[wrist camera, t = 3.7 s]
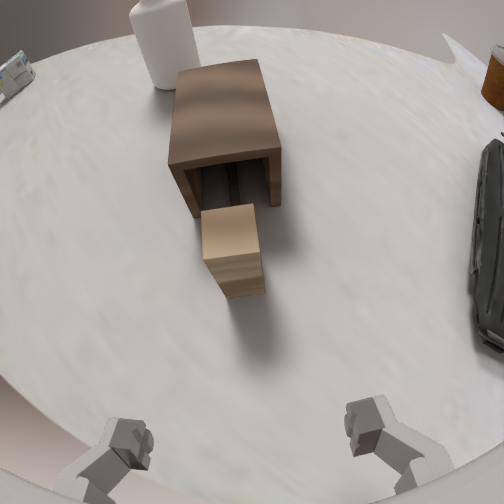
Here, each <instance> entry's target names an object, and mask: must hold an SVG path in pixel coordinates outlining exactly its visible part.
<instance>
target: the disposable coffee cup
mask: <svg viewBox="0 0 504 504" xmlns="http://www.w3.org/2000/svg"><path fill="white" fill-rule="evenodd" d="M481 93H482V95H483V97H484V98H485V99H486V100H487V101H488V102H489V103H490V104H491V105H493V106H494V107H496V108H497V109H499V110H504V47H502V46H500V45H498V44H496V45H494V47H492V48H491V58H490V62H489V66H488V70H487V73H486V77H485V81H484V84H483V87H482V90H481Z"/></svg>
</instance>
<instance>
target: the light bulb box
mask: <svg viewBox="0 0 504 504" xmlns="http://www.w3.org/2000/svg"><path fill="white" fill-rule="evenodd" d="M34 77H35V71H34V70H33V68H32V66H31V65H30V63H29V61H28V60H27V58H26V57H25V55H24V53H23V51H20V52H19V53H17V54H16V55H15V56H13V57H12V58H11V59H10V60H8V61H7V62H6V63H5V64H4V65H2V66H1V67H0V90H1V91H2V93H3V94H4V95H5V97H6V98H7V100H9V99H10V98H11V97H12V96H13V95H15V94H16V93H17V92H18V91H20V90H21V89H22V88H23V87H25V86H26V85H27V84H29V83H30V82H31V81H33V80H34Z"/></svg>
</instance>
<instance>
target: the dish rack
mask: <svg viewBox="0 0 504 504" xmlns="http://www.w3.org/2000/svg"><path fill="white" fill-rule="evenodd" d="M501 135H502V136H503V137H504V133H503V132H501ZM482 171H483V175H482ZM500 175H501V197H500ZM481 186H482V189H481V204H480V216H478V207H479V197H480V187H481ZM500 200H501V206H500ZM499 221H500V227H499ZM477 224H479V237H478V249H477V261H476V267H475V251H476V236H477ZM498 232H499V236H498ZM498 239H499V241H498ZM497 243H498V249H497ZM496 253H497V258H496ZM495 261H496V265H495ZM494 267H495V272H494ZM473 273H474V274H475V287H474V300H475V303H476V305H477V309H478V314H477V318H476V322H475V324H476V325H477V323H478V321H479V326H478V328H477V331H478V334H479V335H480V336H482V337H483V338H484V339H483V343H484V344H486V345H487V346H489V347H490V348H492V349H493V350H495V351H497V352H498V353H500V354H501V353H504V307H503V304H504V144H503V143H502V142H501V141H499V140H498V139H493V140H492V141H491V142H490V143H489V144H488V145H487V146H486V148H485V149H484V150H483V151H482V155H481V160H480V166H479V173H478V181H477V191H476V201H475V210H474V223H473V236H472V248H471V263H470V275H472V274H473ZM493 274H494V279H493ZM492 280H493V282H492ZM491 285H492V290H491ZM490 290H491V296H490ZM489 296H490V301H489ZM488 301H489V305H488ZM487 306H488V310H487ZM502 310H503V312H502ZM486 311H487V312H486ZM501 315H502V317H501ZM500 320H501V321H500Z"/></svg>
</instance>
